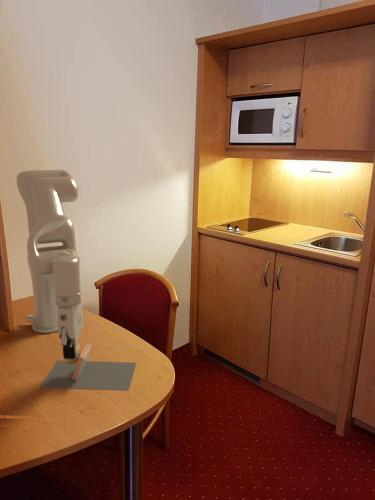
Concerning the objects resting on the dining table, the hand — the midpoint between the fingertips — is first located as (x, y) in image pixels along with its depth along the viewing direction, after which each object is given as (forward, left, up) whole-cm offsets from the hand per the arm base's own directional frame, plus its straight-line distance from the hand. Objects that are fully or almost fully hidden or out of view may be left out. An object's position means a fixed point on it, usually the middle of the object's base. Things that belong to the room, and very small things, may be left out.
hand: (71, 353), depth 121 cm
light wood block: (0, 0, -2) cm, 2 cm away
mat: (+5, 0, -7) cm, 9 cm away
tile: (+2, 0, -6) cm, 7 cm away
